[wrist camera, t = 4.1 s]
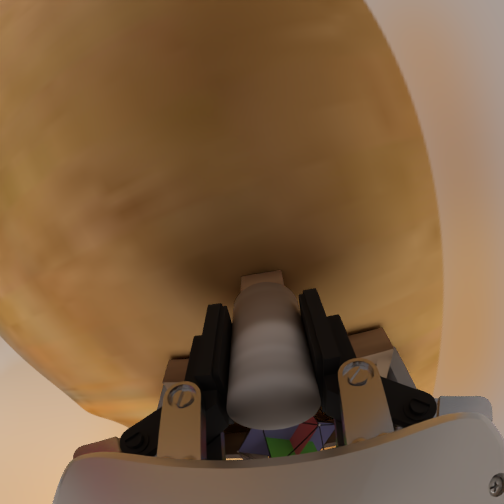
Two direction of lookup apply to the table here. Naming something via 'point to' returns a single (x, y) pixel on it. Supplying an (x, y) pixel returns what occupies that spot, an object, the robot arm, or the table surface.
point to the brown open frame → (275, 361)
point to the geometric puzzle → (286, 440)
